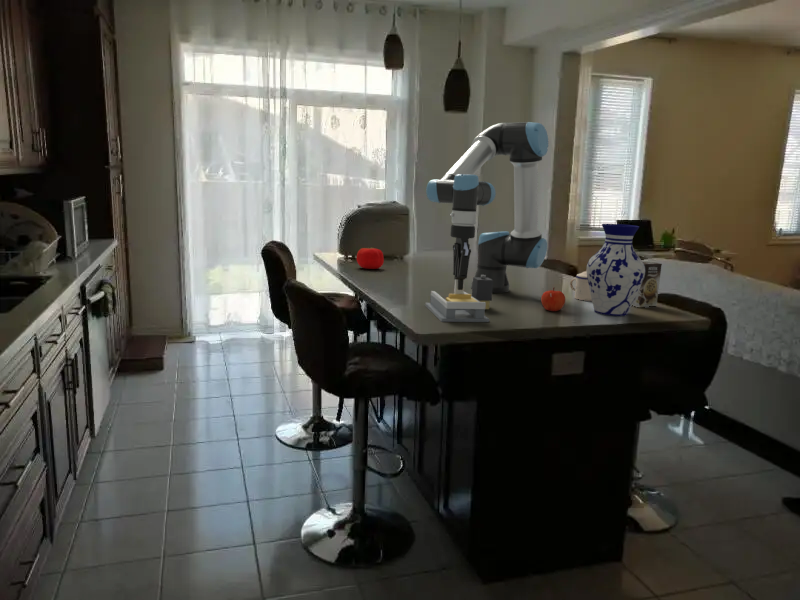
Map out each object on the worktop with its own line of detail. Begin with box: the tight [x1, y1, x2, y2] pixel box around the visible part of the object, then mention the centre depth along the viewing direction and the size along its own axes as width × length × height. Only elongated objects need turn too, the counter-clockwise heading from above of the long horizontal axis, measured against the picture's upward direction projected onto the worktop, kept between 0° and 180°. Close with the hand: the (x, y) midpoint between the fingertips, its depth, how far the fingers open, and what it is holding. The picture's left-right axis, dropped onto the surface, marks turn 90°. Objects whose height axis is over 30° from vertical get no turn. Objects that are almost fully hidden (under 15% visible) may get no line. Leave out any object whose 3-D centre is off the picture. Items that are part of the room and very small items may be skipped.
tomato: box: [356, 246, 385, 270], centre depth 298 cm, size 11×13×10 cm
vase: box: [586, 223, 645, 317], centre depth 217 cm, size 19×19×30 cm
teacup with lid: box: [569, 269, 592, 302], centre depth 244 cm, size 12×9×12 cm
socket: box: [424, 290, 490, 323], centre depth 206 cm, size 15×24×6 cm, turn 10°
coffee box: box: [632, 261, 663, 308], centre depth 234 cm, size 9×6×16 cm
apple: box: [540, 287, 566, 312], centre depth 219 cm, size 8×8×8 cm
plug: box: [471, 275, 493, 310], centre depth 217 cm, size 5×5×11 cm
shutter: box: [445, 293, 478, 302], centre depth 199 cm, size 9×7×3 cm
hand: (458, 299), depth 203 cm, fingers closed
